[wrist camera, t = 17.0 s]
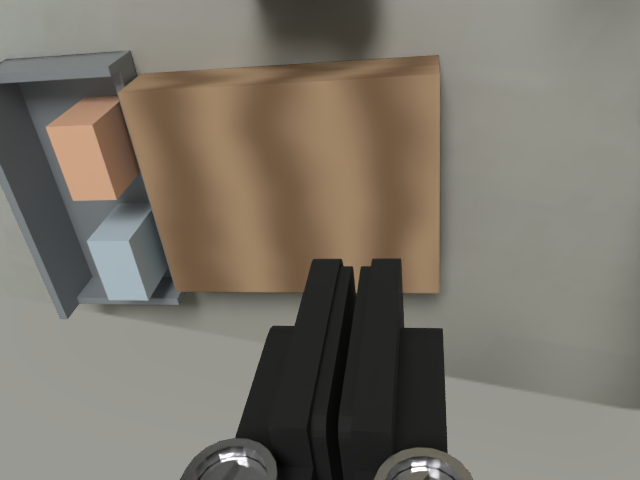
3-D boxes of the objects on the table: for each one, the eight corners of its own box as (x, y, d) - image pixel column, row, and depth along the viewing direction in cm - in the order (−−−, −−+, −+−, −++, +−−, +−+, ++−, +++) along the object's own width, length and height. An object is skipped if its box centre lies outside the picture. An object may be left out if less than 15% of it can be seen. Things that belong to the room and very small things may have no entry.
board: (438, 55, 35) (440, 74, 32) (438, 263, 43) (439, 293, 40) (140, 73, 38) (117, 92, 36) (192, 263, 47) (176, 291, 44)
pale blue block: (128, 240, 39) (86, 241, 40) (148, 300, 42) (108, 300, 42) (156, 202, 43) (118, 203, 44) (172, 259, 46) (136, 259, 46)
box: (129, 50, 38) (94, 76, 34) (192, 279, 47) (170, 320, 43) (5, 59, 39) (-44, 84, 35) (90, 278, 49) (60, 319, 45)
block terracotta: (92, 124, 35) (45, 126, 35) (116, 199, 37) (73, 200, 38) (127, 94, 39) (84, 97, 39) (147, 164, 42) (107, 165, 42)
